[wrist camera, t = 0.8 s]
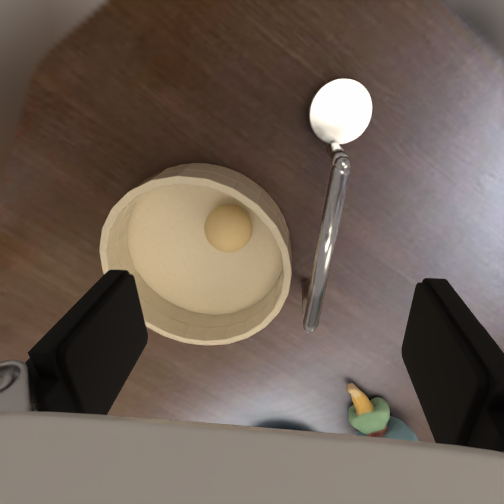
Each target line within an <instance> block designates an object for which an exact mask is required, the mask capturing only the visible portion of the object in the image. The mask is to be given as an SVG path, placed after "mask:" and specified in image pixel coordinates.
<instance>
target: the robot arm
mask: <svg viewBox="0 0 504 504" xmlns="http://www.w3.org/2000/svg"><path fill="white" fill-rule="evenodd" d="M147 339H148V334H147V329H146V325H145V321H144V316H143V312H142V308H141V303H140V299H139V295H138V291H137V286H136V282H135V278H134V276H133V275H132V274H130V273H129V272H128V271H127V270H109V271H107V272H106V273H105V274H104V275H103V276H102V277H101V279H100V280H99V281H98V282H97V283H96V284H95V285H94V286H93V287H92V288H91V289H90V290H89V291H88V292H87V293H86V294H85V295H84V296H83V297H82V298H81V299H80V300H79V301H78V302H77V303H76V304H75V305H74V306H73V307H72V308H71V309H70V310H69V311H68V312H67V313H66V314H65V315H64V316H63V317H62V318H61V319H60V320H59V321H58V322H57V323H56V324H55V325H54V326H53V327H52V328H51V329H50V330H49V332H48V333H47V334H46V335H45V336H44V337H43V338H42V339H41V340H40V341H39V342H38V343H37V344H36V345H35V346H34V347H33V348H32V349H31V350H30V351H29V352H28V354H29V356H30V358H29V359H28V360H27V362H26V363H24V362H22V361H20V360H6V361H2V362H0V504H504V353H503V352H502V350H501V349H500V348H499V346H498V345H497V344H496V343H495V341H494V340H493V339H492V337H491V336H490V335H489V333H488V332H487V331H486V330H485V328H484V327H483V326H482V325H481V324H480V322H479V321H478V320H477V319H476V317H475V316H474V315H473V313H472V312H471V311H470V310H469V308H468V307H467V306H466V304H465V303H464V302H463V300H462V299H461V298H460V297H459V295H458V294H457V293H456V291H455V290H454V289H453V287H452V286H451V285H450V284H449V282H448V281H447V280H446V279H435V278H425V279H424V280H423V281H422V283H417V285H416V288H415V292H414V296H413V301H412V305H411V309H410V314H409V318H408V322H407V327H406V331H405V336H404V340H403V344H402V358H403V361H404V363H405V366H406V368H407V371H408V373H409V376H410V378H411V381H412V383H413V386H414V389H415V391H416V394H417V396H418V399H419V401H420V404H421V406H422V409H423V411H424V414H425V416H426V419H427V422H428V424H429V427H430V429H431V432H432V434H433V437H434V439H435V442H436V443H430V442H421V441H411V440H401V439H392V438H380V437H369V436H357V435H346V434H335V433H323V432H312V431H300V430H289V429H277V428H265V427H253V426H240V425H228V424H216V423H203V422H191V421H178V420H165V419H152V418H139V417H126V416H113V415H107V413H108V412H109V410H110V408H111V406H112V405H113V403H114V401H115V399H116V397H117V396H118V394H119V392H120V390H121V388H122V387H123V385H124V383H125V381H126V380H127V378H128V376H129V374H130V372H131V371H132V369H133V367H134V365H135V364H136V362H137V360H138V358H139V356H140V355H141V353H142V351H143V349H144V347H145V346H146V344H147Z"/></svg>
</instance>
